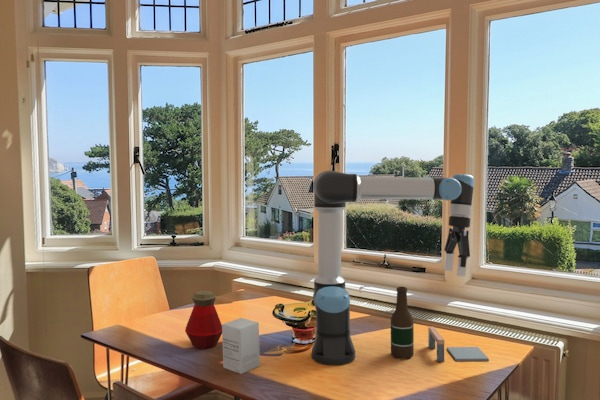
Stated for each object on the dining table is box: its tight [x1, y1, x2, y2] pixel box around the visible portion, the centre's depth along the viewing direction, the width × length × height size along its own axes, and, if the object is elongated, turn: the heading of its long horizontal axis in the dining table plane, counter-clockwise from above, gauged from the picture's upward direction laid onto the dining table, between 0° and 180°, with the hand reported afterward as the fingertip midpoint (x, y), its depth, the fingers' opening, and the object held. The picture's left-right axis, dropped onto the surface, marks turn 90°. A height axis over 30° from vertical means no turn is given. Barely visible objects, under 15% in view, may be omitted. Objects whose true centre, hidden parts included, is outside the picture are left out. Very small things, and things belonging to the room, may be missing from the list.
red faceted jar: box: [185, 290, 223, 350], centre depth 185 cm, size 16×14×20 cm
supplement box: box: [221, 317, 261, 375], centre depth 163 cm, size 9×9×15 cm
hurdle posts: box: [427, 331, 445, 363], centre depth 172 cm, size 2×14×6 cm, turn 179°
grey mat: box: [446, 346, 490, 362], centre depth 171 cm, size 11×11×1 cm
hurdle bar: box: [427, 326, 445, 345], centre depth 172 cm, size 2×14×2 cm, turn 178°
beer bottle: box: [390, 286, 415, 360], centre depth 171 cm, size 8×8×24 cm
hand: (454, 273), depth 182 cm, fingers open, 13 cm apart
